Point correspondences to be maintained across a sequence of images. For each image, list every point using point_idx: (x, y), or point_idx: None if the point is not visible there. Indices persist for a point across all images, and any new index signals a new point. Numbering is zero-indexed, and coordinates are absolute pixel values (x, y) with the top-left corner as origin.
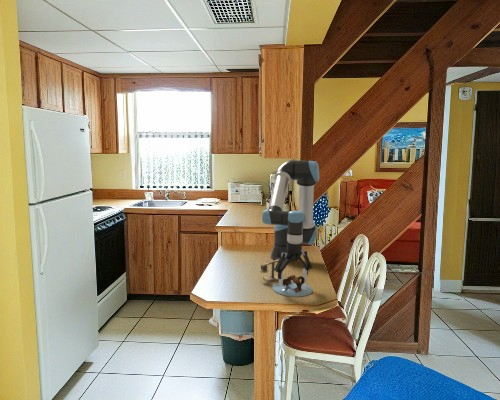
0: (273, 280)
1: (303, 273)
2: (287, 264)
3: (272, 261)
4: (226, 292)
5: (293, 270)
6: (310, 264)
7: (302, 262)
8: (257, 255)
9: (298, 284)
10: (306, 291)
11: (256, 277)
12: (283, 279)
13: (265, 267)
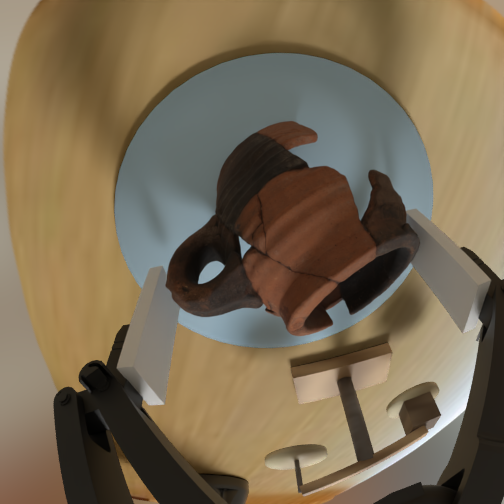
0: (350, 357)
1: (163, 352)
2: (487, 397)
3: (373, 465)
4: None
5: (191, 438)
6: (60, 428)
7: (177, 481)
8: (282, 487)
9: (269, 167)
10: (178, 148)
11: (396, 383)
12: (373, 298)
13: (422, 415)
